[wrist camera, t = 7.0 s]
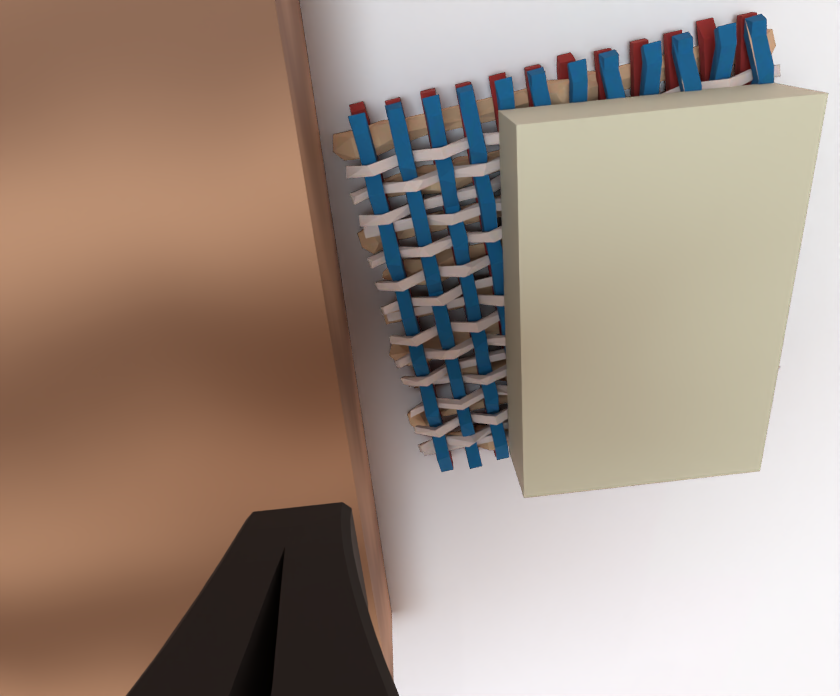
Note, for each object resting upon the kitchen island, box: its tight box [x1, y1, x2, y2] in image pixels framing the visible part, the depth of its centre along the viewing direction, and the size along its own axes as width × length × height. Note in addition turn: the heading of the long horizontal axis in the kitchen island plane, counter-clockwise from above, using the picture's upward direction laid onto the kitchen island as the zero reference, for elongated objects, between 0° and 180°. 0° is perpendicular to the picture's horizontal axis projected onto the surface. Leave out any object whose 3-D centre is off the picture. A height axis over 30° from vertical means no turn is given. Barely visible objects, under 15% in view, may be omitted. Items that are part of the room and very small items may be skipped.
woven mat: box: [333, 12, 780, 472], centre depth 17 cm, size 10×11×2 cm
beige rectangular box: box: [498, 83, 828, 498], centre depth 16 cm, size 9×6×2 cm, turn 5°
